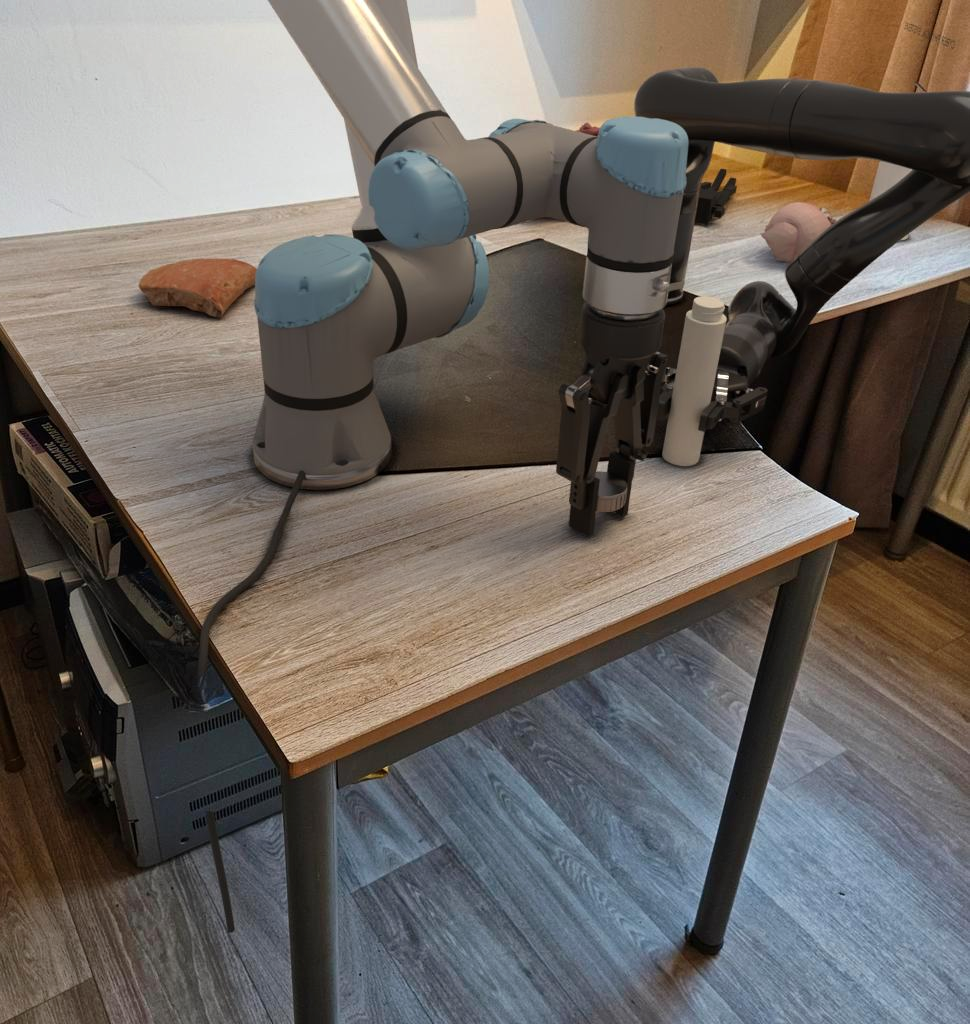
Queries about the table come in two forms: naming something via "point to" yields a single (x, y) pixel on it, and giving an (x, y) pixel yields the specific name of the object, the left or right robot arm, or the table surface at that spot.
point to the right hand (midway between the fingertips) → (681, 417)
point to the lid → (610, 492)
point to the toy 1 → (714, 198)
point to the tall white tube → (892, 172)
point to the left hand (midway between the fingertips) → (598, 519)
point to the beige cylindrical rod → (694, 380)
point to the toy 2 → (795, 229)
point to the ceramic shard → (199, 284)
